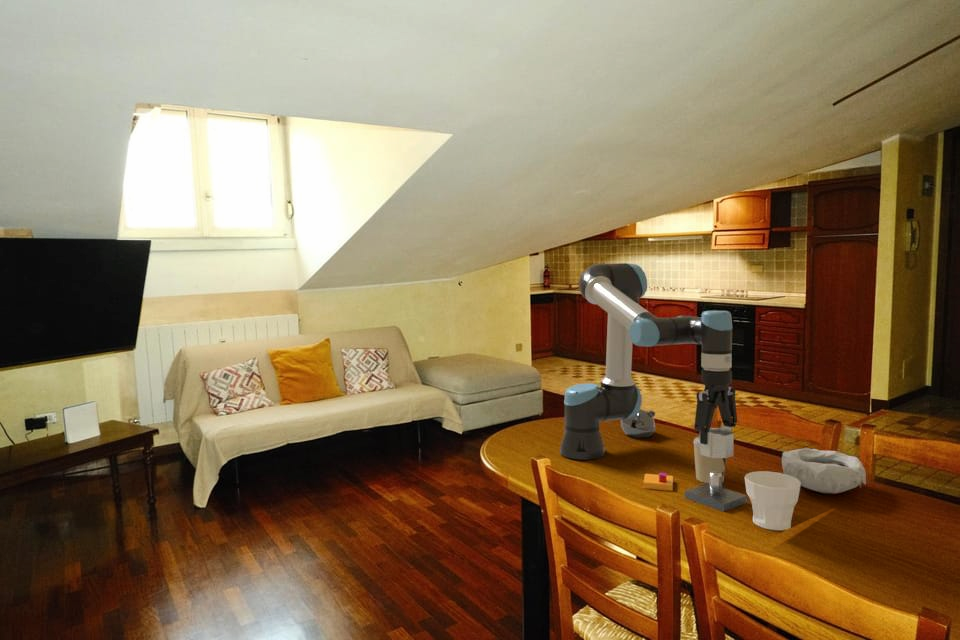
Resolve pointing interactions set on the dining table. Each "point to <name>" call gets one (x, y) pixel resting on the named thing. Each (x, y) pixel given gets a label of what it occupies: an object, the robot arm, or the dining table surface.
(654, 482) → the push button box
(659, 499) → the dining table surface
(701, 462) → the coffee cup
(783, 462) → the bowl
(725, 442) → the block
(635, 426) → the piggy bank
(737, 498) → the shaft block
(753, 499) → the cup
